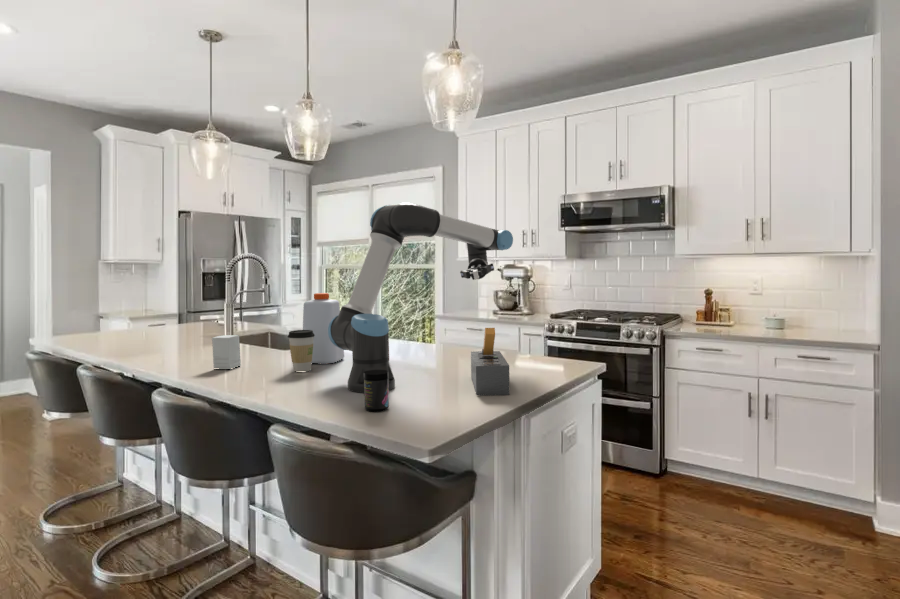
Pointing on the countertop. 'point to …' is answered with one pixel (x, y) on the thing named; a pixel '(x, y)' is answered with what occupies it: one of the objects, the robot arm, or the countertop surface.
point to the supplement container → (376, 390)
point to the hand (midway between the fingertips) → (475, 275)
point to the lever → (488, 341)
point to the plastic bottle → (322, 327)
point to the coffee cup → (301, 349)
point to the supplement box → (226, 351)
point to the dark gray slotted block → (489, 373)
